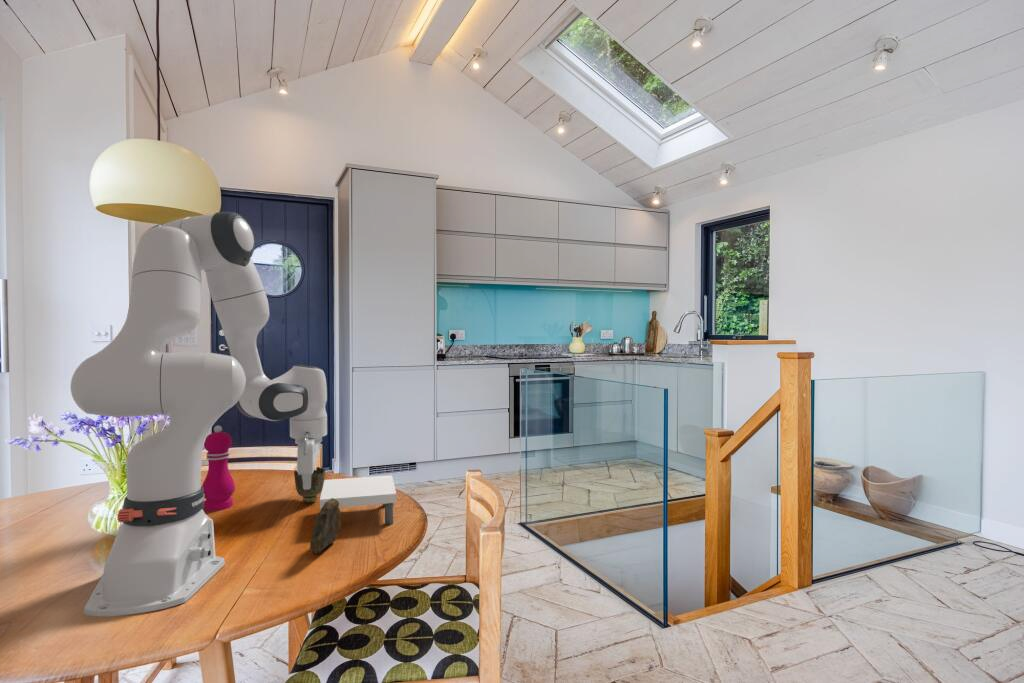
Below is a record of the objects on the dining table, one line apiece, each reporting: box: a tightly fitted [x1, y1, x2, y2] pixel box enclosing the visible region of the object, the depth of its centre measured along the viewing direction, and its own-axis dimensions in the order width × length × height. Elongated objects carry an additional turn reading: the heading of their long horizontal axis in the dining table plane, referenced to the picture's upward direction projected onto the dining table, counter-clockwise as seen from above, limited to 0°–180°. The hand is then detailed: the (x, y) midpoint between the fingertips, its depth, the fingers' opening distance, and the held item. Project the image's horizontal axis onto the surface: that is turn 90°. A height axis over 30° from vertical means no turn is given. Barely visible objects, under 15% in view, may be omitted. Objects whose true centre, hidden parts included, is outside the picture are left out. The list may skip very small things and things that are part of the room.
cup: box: [293, 466, 326, 504], centre depth 136 cm, size 8×7×8 cm
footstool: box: [319, 474, 397, 526], centre depth 125 cm, size 16×16×7 cm
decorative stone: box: [309, 498, 342, 554], centre depth 105 cm, size 10×9×4 cm
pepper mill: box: [201, 425, 236, 512], centre depth 131 cm, size 7×7×20 cm
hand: (308, 483), depth 136 cm, fingers open, 8 cm apart
